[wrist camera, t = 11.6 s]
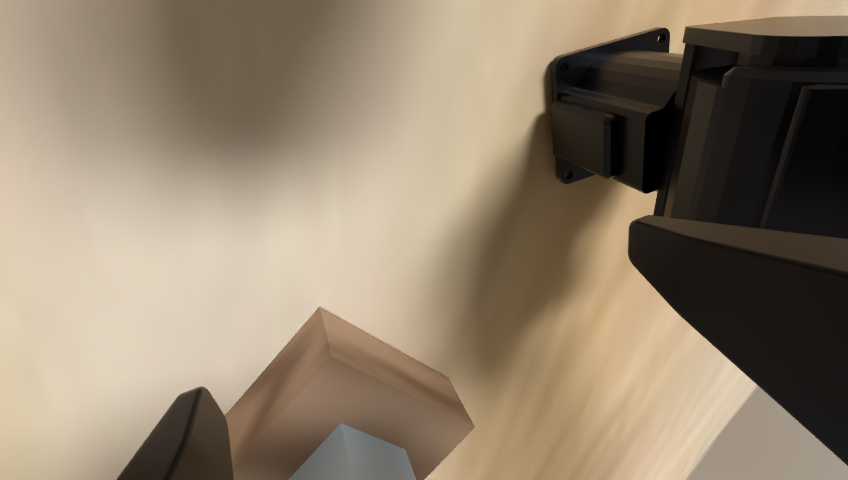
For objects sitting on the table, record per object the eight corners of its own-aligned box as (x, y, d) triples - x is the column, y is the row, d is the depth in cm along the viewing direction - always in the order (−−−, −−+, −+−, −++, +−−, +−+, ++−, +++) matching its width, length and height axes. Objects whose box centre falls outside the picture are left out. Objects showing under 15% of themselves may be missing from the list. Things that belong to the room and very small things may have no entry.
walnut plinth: (319, 306, 23) (331, 357, 20) (447, 377, 28) (474, 427, 25) (202, 442, 24) (194, 511, 21) (345, 486, 30) (358, 548, 26)
